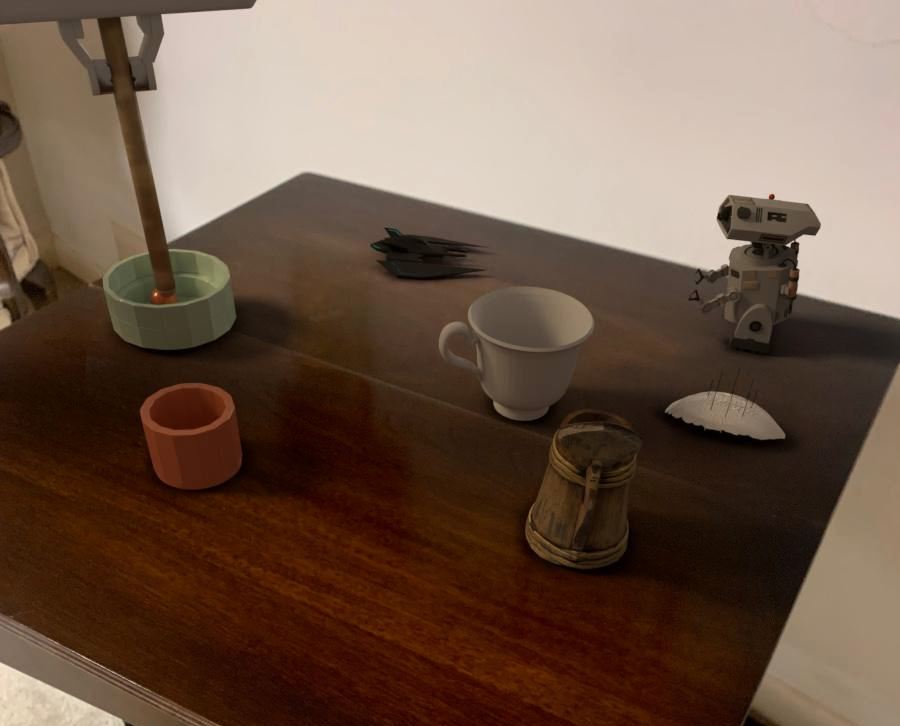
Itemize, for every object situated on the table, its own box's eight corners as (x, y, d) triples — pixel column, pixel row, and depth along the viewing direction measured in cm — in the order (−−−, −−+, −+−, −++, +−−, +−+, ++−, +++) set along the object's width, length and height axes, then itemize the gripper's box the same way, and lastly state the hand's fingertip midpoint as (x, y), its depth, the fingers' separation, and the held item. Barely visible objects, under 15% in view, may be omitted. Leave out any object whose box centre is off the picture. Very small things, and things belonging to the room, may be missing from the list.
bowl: (96, 348, 95) (83, 300, 91) (139, 290, 104) (129, 244, 100) (216, 360, 94) (208, 312, 90) (249, 300, 104) (243, 254, 100)
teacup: (424, 381, 93) (426, 292, 86) (557, 368, 96) (570, 281, 89) (450, 449, 85) (455, 357, 78) (595, 433, 88) (613, 343, 81)
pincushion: (786, 425, 90) (804, 377, 86) (779, 459, 86) (798, 410, 82) (670, 398, 93) (682, 350, 89) (658, 429, 89) (671, 381, 85)
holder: (141, 485, 80) (126, 430, 75) (170, 432, 85) (158, 378, 81) (228, 494, 79) (218, 440, 75) (252, 440, 85) (244, 386, 81)
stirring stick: (156, 300, 70) (88, -2, 57) (161, 292, 71) (96, -6, 58) (175, 300, 70) (111, -2, 57) (179, 292, 71) (118, -6, 58)
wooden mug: (511, 600, 72) (536, 414, 59) (531, 495, 81) (556, 314, 68) (620, 618, 71) (671, 433, 58) (628, 510, 80) (673, 330, 67)
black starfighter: (377, 235, 117) (377, 213, 115) (490, 245, 116) (492, 223, 114) (363, 274, 109) (362, 251, 107) (484, 285, 108) (485, 262, 106)
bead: (174, 316, 101) (147, 306, 100) (181, 290, 100) (154, 280, 99) (173, 321, 98) (146, 311, 97) (181, 294, 97) (153, 284, 96)
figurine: (685, 304, 107) (717, 176, 97) (781, 320, 106) (825, 192, 95) (677, 341, 101) (711, 209, 90) (780, 359, 99) (826, 226, 89)
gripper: (233, -181, 56) (258, 64, 66) (-125, -181, 50) (-37, 89, 60) (260, -167, 52) (282, 91, 62) (-125, -166, 46) (-31, 121, 56)
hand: (123, 90), depth 61 cm, fingers closed on stirring stick, 1 cm apart
